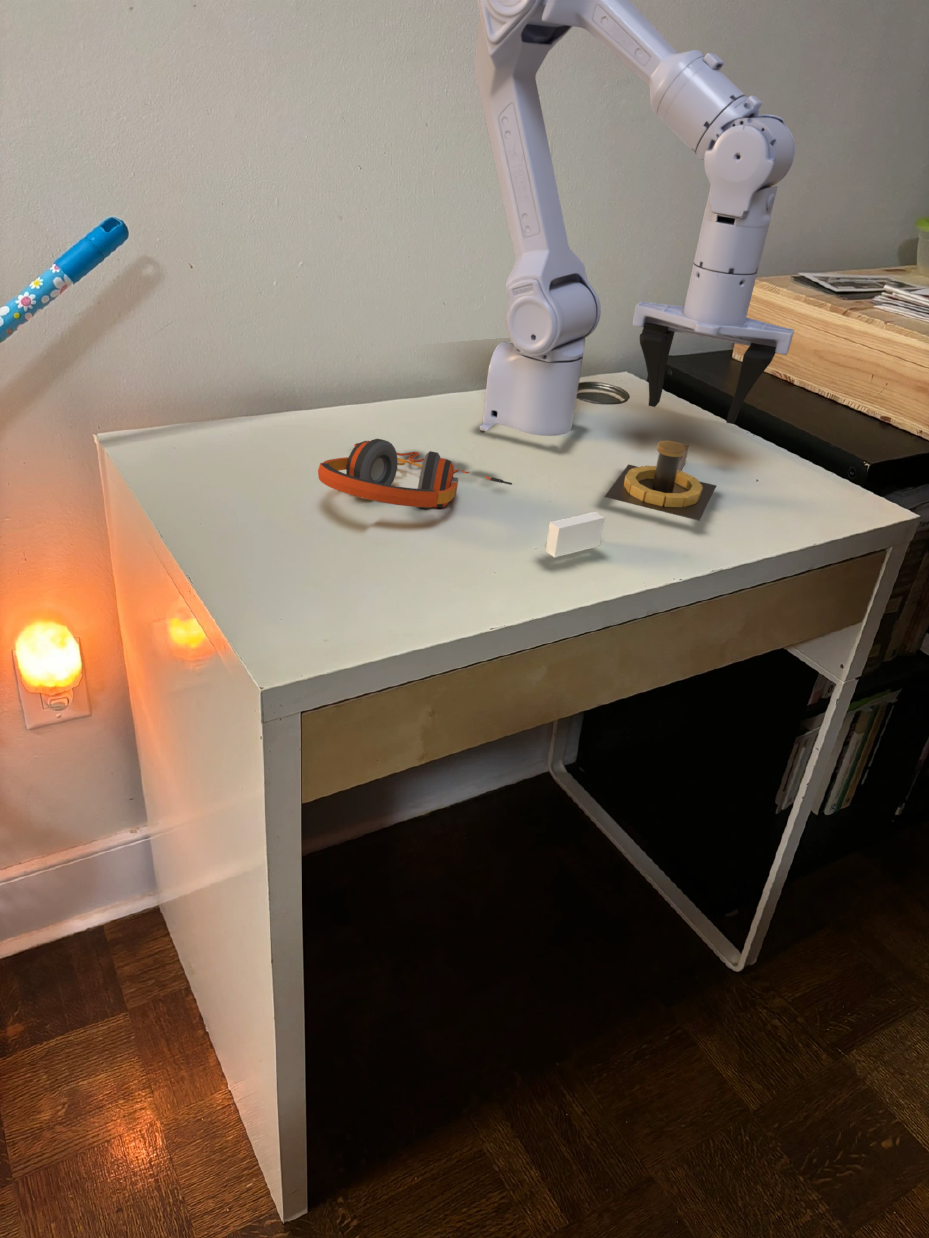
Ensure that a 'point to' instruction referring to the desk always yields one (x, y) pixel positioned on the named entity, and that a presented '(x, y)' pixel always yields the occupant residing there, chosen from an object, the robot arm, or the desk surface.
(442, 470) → the headphones
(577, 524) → the eraser
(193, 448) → the desk surface
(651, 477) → the ring
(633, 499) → the stand
